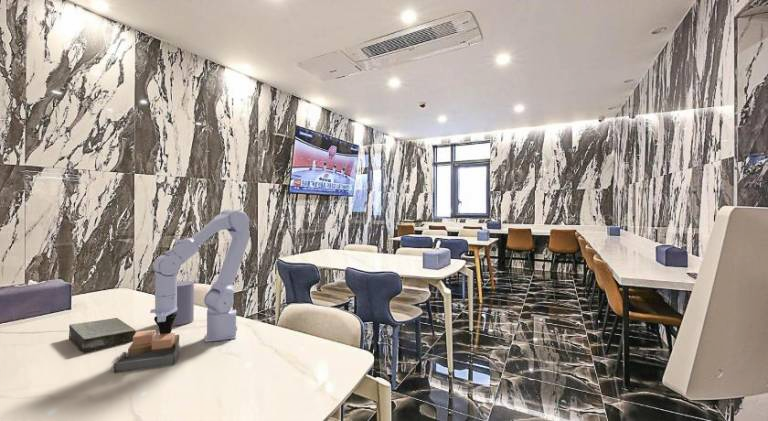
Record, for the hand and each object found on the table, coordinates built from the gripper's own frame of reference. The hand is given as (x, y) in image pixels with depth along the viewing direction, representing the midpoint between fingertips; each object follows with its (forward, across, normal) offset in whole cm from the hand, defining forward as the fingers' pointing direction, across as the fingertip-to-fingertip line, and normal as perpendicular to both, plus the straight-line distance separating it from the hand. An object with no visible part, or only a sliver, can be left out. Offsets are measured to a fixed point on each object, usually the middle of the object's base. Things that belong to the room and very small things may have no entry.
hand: (165, 338), depth 108 cm
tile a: (+1, +3, 0) cm, 3 cm away
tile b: (+1, -2, -6) cm, 6 cm away
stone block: (+5, -18, -21) cm, 28 cm away
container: (+4, -30, -1) cm, 30 cm away
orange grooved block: (+4, -1, -3) cm, 5 cm away
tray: (+4, +7, -3) cm, 9 cm away
